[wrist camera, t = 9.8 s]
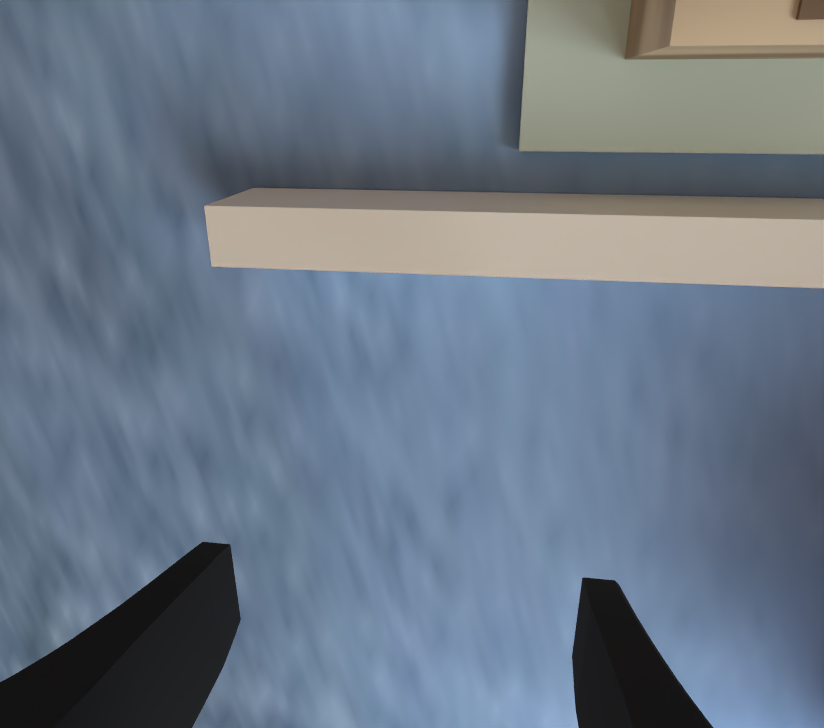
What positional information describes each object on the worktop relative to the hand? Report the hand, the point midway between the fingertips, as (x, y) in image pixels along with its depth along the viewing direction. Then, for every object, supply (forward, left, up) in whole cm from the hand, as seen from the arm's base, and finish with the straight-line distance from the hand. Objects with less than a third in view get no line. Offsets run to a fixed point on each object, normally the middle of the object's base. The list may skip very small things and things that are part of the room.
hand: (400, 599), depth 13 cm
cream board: (+6, -5, -9) cm, 12 cm away
